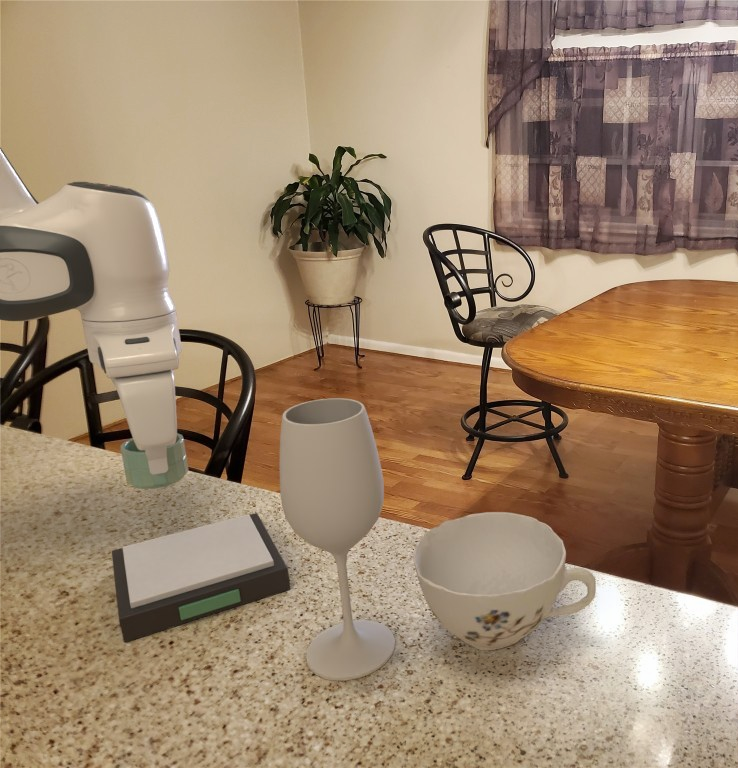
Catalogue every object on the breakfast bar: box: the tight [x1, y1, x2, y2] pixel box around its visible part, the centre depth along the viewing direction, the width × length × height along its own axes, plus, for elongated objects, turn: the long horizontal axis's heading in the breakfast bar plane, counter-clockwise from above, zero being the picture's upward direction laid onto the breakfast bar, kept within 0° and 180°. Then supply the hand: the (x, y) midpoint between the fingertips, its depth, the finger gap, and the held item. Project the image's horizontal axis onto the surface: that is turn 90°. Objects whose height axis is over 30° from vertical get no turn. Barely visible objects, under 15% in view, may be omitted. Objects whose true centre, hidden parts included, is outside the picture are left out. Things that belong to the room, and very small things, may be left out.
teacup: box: [413, 511, 597, 651], centre depth 57 cm, size 15×12×8 cm
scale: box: [111, 512, 291, 643], centre depth 66 cm, size 14×13×3 cm
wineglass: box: [279, 397, 396, 681], centre depth 54 cm, size 8×8×21 cm
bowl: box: [119, 432, 189, 490], centre depth 77 cm, size 6×6×4 cm
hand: (155, 459), depth 77 cm, fingers closed on bowl, 6 cm apart
